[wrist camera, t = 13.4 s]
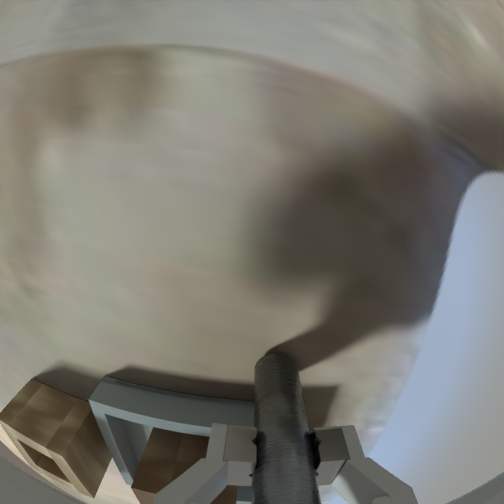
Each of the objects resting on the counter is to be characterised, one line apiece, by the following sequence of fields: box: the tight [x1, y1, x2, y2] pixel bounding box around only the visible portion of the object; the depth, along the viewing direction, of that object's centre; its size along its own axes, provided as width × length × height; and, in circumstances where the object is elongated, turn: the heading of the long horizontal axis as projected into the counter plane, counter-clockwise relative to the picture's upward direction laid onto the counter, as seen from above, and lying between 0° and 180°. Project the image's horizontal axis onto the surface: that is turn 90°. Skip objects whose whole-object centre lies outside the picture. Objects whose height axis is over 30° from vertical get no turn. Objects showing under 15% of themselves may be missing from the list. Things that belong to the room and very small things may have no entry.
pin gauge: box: [251, 353, 321, 504], centre depth 8 cm, size 2×2×9 cm
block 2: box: [131, 427, 237, 504], centre depth 12 cm, size 5×5×5 cm
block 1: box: [0, 379, 112, 498], centre depth 12 cm, size 6×6×5 cm
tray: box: [88, 376, 254, 504], centre depth 13 cm, size 11×10×2 cm
